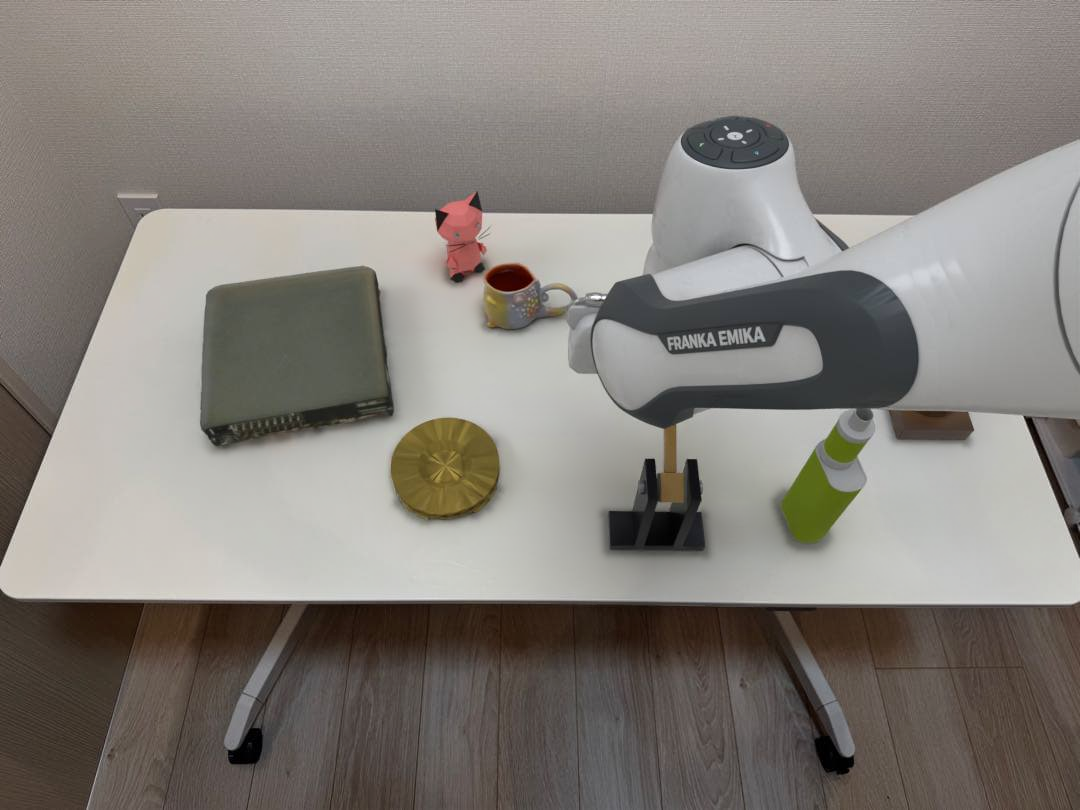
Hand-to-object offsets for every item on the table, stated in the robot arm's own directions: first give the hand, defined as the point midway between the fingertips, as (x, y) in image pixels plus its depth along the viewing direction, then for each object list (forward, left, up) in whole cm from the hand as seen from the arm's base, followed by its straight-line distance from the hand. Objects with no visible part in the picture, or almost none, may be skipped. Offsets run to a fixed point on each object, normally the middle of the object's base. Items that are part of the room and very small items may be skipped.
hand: (668, 388), depth 75 cm
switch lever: (-4, 0, -3) cm, 5 cm away
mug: (+21, +14, -15) cm, 30 cm away
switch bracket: (-9, 0, -15) cm, 17 cm away
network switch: (+13, +42, -15) cm, 47 cm away
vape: (-7, -16, -15) cm, 23 cm away
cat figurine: (+29, +23, -15) cm, 40 cm away
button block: (+8, -33, -15) cm, 37 cm away
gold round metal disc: (-2, +23, -15) cm, 28 cm away
